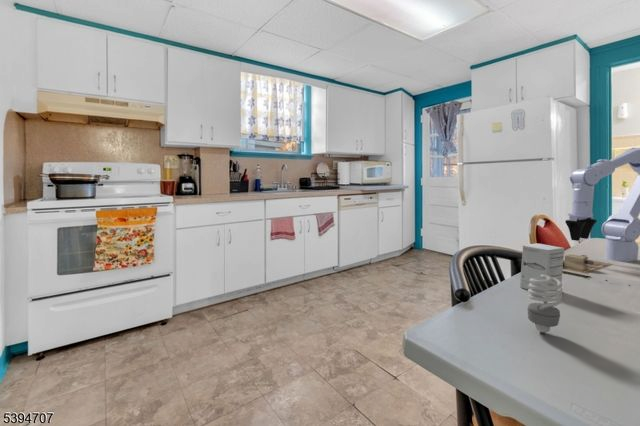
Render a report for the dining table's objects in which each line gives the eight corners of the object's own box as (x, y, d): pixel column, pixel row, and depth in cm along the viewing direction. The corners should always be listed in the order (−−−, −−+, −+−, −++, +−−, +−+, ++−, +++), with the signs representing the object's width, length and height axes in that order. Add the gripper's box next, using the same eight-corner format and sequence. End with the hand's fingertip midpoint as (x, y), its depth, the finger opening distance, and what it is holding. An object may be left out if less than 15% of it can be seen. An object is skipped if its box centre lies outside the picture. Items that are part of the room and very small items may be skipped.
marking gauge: (569, 265, 111) (570, 254, 111) (594, 270, 105) (595, 258, 105) (564, 266, 109) (565, 255, 108) (589, 271, 103) (590, 259, 103)
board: (582, 262, 120) (582, 254, 120) (613, 268, 113) (613, 259, 112) (554, 271, 109) (555, 262, 108) (586, 278, 101) (587, 269, 101)
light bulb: (527, 324, 69) (530, 269, 68) (559, 331, 65) (564, 274, 64) (523, 333, 65) (527, 276, 63) (558, 342, 61) (562, 281, 60)
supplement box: (518, 287, 93) (521, 244, 91) (534, 284, 96) (537, 242, 94) (545, 295, 86) (549, 249, 85) (562, 291, 89) (565, 247, 88)
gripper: (577, 201, 123) (575, 235, 124) (560, 202, 115) (557, 239, 117) (601, 201, 117) (598, 238, 118) (584, 203, 109) (581, 242, 111)
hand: (579, 239), depth 117 cm, fingers open, 7 cm apart
